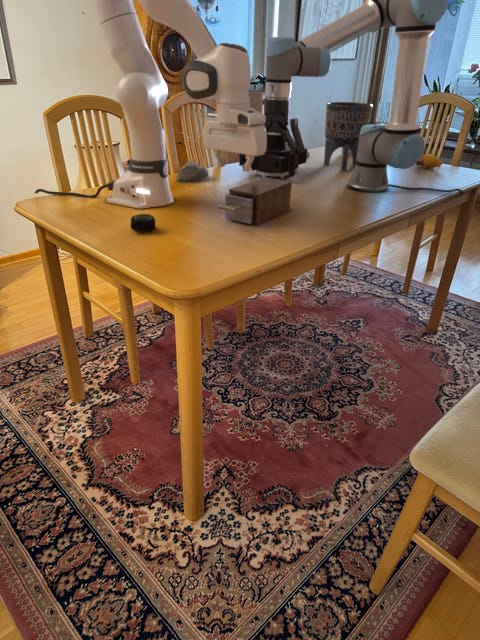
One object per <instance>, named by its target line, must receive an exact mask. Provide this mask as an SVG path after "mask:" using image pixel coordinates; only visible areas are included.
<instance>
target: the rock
mask: <svg viewBox="0 0 480 640" xmlns="http://www.w3.org/2000/svg"><path fill="white" fill-rule="evenodd" d="M209 177H210V175H209V171H208V169H207V168H206V167H205V166H202V165H201V164H199V163H194V162H192V161H190V160H187V161H186V163H185V164H184V165H182V166H181V167H180V168H179V169H178V171H177V175H176V180H177V181H178V182H179V181H180V182H185V183H191V182H201V181H202V180H204V179H206V178H209Z"/></svg>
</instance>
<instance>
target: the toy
mask: <svg viewBox="0 0 480 640" xmlns="http://www.w3.org/2000/svg"><path fill="white" fill-rule="evenodd" d="M415 165H416V166H421V167H425V168H426V169H428V170H430V169H435V168H438V167H441V166H442V165H443V161H442V160H440V159H438V157H437V156H436V155H434V154H430V153H428V154H425V155H423V154H422V156H421V158H420V159H419V161H417V162H416V164H415Z"/></svg>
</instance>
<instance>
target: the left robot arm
mask: <svg viewBox="0 0 480 640" xmlns="http://www.w3.org/2000/svg"><path fill="white" fill-rule="evenodd" d="M137 2H138V3H139V5H140V6H141V8H142V9H143V10H144V12H145V13H146V14H147V15H148V17H150V19H152V20H153V21H155V22H157V23H159V24H162V25H164V26H166V27H168V28H170V29H172V30H174V31H175V32H177V33H179V34H180V35H181V36H182V38H184V39H185V40H186V42H187V43H188V45H189V47H190V48H191V50H192V52H193V53H194V54H195V56H196V58H195V59H193V60H190V61H188V63H186V65H185V66H184V68H183V71H182V75H181V76H182V78H181V79H182V86H183V89H184V92H185V93H186V94H187V95H188V96H189V97H190V98H192V99H194V100H198V101H210V100H216V102H215V103H216V113H213V112H208V113H207V114H206V115H205V117H204V124H203V133H202V144H203V147H204V148H205V149H207V150H212V151H213V156H214V158H215V159H216V160H215V161H216V166H217V167H219V168H224V167H225V166H226V160H225V159H223V155H222V154H223V152H227V153H233V154H246V159H247V161H246V163H245V164H244V165H243V166H242V171H243V172H245V173H249V172H251V171H252V168H251V164H252V162H253V160H254V156H260V155H263V154H264V153H265V152H266V148H267V135H266V129H265V127H264V126H265V124H264V123H265V121H266V117H265V113H262V112H260V111H258V110H256V109H255V108H253V107H251V99H250V87H251V62H250V55H249V52H248V50H247V49H246V47H244V46H242V45H240V44H235V43H230V42H221V43H218V44H217V42H216V41H215V39H214V37H213V35H212V34H211V32H210V30H209V28H208V27H207V25H206V24H205V22H204V20H203V19H202V18H201V16H200V14H199V13H198V11H197V10H196V8H195V7H194V5H193V4H192V2H191V0H137ZM92 5H93V9H94V12H95V15H96V19H97V21H98V25H99V27H100V30H101V32H102V35H103V38H104V40H105V43H106V46H107V48H108V51H109V55H110V56H111V58H112V59H113V61H114V62H115V64H117V66H118V68H119V69H120V72H121V73H122V75H123V77H122V78H121V80H120V81H119V82H118V84H117V86H116V93H115V94H116V99H117V102H118V103H119V105H120V107H121V108H122V111H123V112H122V113H123V115H124V120H125V122H126V126H127V130H128V136H129V143H130V153H131V158H129V159H128V160H126V161H125V164H124V165H125V166H128V168H127V170H126V171H125V172H124V173H123V174H122V175H120V176H119V177H118V178H117V179H116V180H111V181H109V182H107V184H103V185H101V186H100V187H98V189H97V191H96V193H95V194H92V195H88V194H83V193H78V192H69V191H50V190H46V189H43V188H38V189H36V190H35V191H34V194H38V193H40V192H41V193H44V194H46V195H59V196H75V197H81V198H90V199H91V198H92V199H94V198H98V196H99V194H100V192H101V191H102V190H104V189H107V190H108V191H112V194H110V195H108V196H107V198H106V202H107V203H109V204H114V205H119V206H124V207H129V208H134V209H142V210H143V209H148V208H156V207H164V206H167V205H170V204H172V203H174V200H175V199H174V198H173V194H172V192H171V187H170V182H169V181H170V180H169V162H168V158H167V150H166V149H167V148H166V135H165V130H164V128H163V125H162V122H161V117H160V112H159V109H160V108H161V107H163V105H164V104H165V102H166V101H167V99H168V95H169V88H168V84H167V82H166V80H165V79H164V77H163V75H162V73H161V71H160V69H159V67H158V65H157V63H156V61H155V58H154V56H153V54H152V52H151V50H150V48H149V46H148V43H147V41H146V38H145V35H144V33H143V32H144V31H143V29H142V27H141V23H140V20H139V17H138V14H137V11H136V9H135V6H134V3H133V1H132V0H92Z"/></svg>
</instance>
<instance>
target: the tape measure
mask: <svg viewBox="0 0 480 640" xmlns="http://www.w3.org/2000/svg"><path fill="white" fill-rule="evenodd" d="M130 229H131V230H132V231H134V232H143V233H144V232H147V231H155V230H156V219H155V217H154V216H153V215H152V214H149V213H139V214H138V213H137V214H135V215H133V216H132V217H131V218H130Z"/></svg>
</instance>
